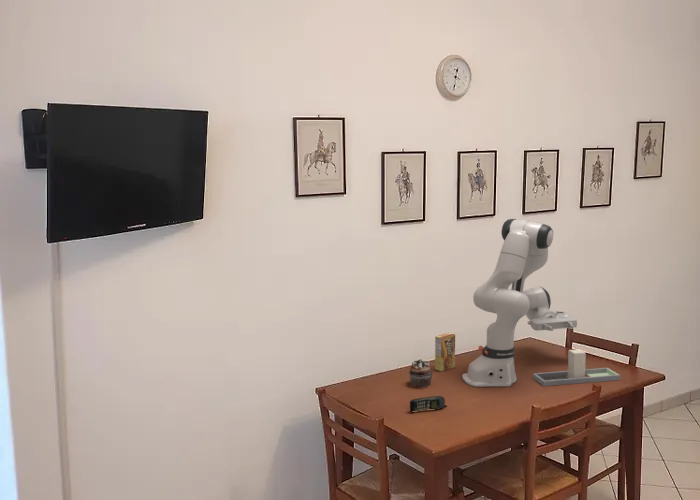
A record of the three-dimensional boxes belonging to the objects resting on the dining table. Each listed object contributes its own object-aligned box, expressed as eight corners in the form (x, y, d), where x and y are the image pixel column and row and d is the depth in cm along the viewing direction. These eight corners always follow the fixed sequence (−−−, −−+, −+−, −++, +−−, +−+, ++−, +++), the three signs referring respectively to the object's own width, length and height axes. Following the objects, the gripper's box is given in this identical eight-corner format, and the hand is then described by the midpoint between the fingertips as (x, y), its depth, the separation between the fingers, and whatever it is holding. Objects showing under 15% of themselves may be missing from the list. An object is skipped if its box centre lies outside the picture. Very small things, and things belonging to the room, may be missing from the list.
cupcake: (404, 385, 275) (404, 361, 273) (418, 378, 282) (418, 356, 280) (423, 390, 268) (423, 366, 267) (437, 383, 275) (437, 360, 274)
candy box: (448, 365, 299) (448, 332, 297) (455, 367, 296) (455, 334, 293) (434, 369, 293) (434, 335, 291) (441, 371, 290) (441, 337, 288)
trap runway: (543, 386, 271) (543, 381, 270) (532, 378, 280) (532, 373, 280) (620, 379, 276) (620, 375, 276) (606, 372, 286) (607, 367, 286)
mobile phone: (411, 401, 244) (448, 395, 248) (408, 398, 247) (445, 393, 251) (411, 414, 245) (449, 408, 249) (408, 411, 248) (445, 405, 252)
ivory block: (573, 381, 275) (574, 353, 274) (567, 377, 280) (568, 350, 278) (584, 380, 276) (585, 352, 274) (578, 376, 281) (579, 349, 279)
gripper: (525, 315, 300) (539, 323, 287) (567, 311, 304) (583, 319, 290) (525, 328, 301) (539, 337, 288) (567, 325, 305) (583, 333, 291)
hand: (561, 328), depth 289 cm, fingers open, 8 cm apart
